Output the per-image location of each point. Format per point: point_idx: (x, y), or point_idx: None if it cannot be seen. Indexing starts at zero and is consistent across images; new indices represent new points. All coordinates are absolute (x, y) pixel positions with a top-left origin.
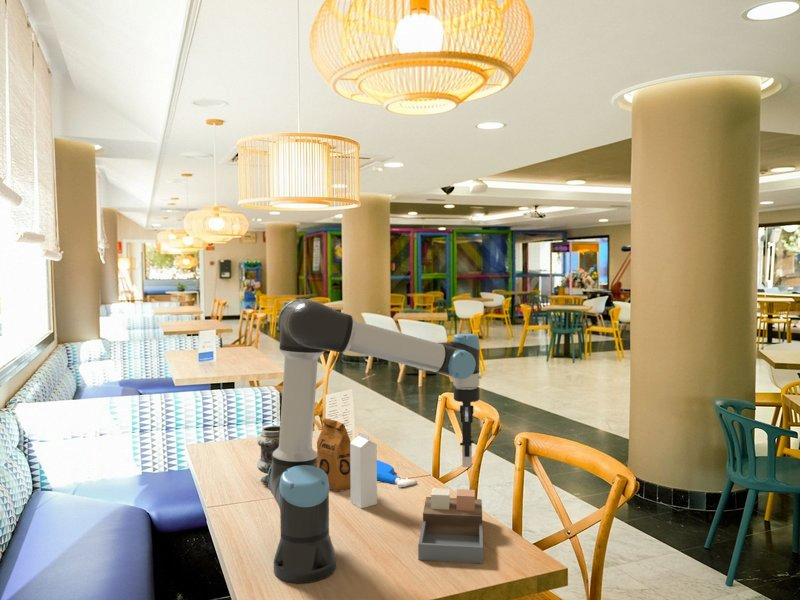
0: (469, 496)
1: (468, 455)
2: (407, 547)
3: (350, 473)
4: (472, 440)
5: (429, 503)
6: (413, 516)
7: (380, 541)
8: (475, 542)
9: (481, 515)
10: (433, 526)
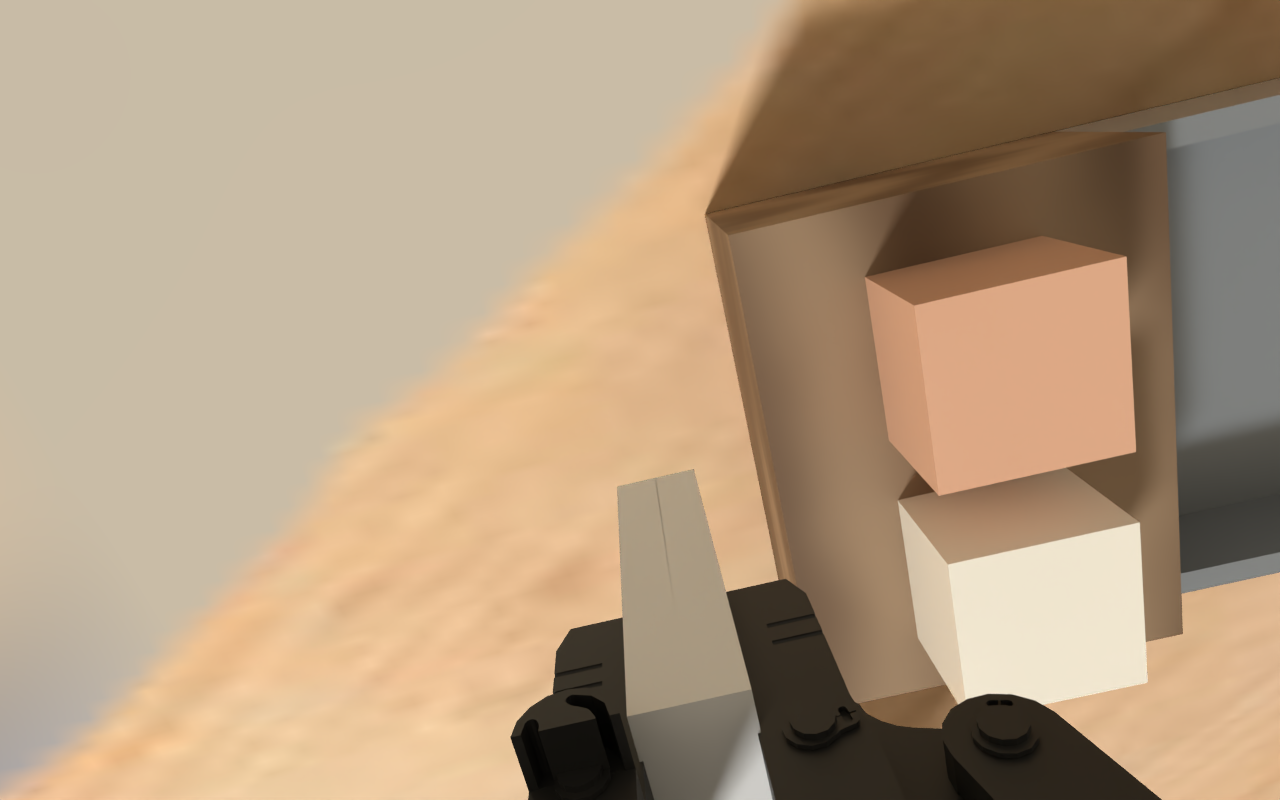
0: (1128, 315)
1: (803, 607)
2: (1276, 579)
3: None
4: (524, 760)
5: None
6: None
7: (1214, 742)
8: (1180, 159)
9: (1145, 144)
10: None
